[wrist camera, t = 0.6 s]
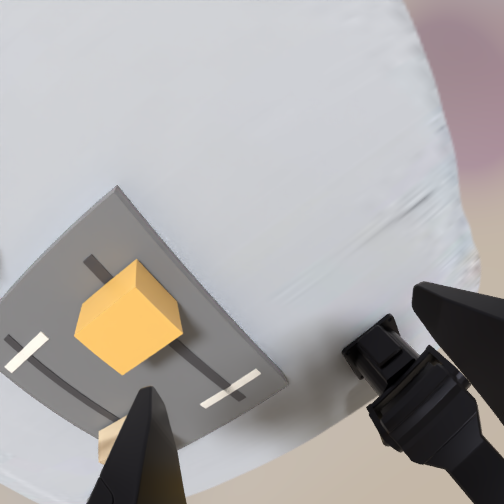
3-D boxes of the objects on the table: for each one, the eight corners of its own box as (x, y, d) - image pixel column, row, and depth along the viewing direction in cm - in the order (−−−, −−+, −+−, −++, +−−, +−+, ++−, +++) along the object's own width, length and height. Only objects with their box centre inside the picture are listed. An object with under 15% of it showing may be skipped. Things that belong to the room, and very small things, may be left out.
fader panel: (281, 370, 30) (289, 385, 28) (146, 450, 30) (148, 465, 28) (117, 185, 19) (113, 192, 17) (-24, 328, 19) (-32, 343, 17)
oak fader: (165, 429, 26) (170, 460, 23) (129, 448, 26) (132, 477, 23) (134, 410, 24) (136, 443, 21) (98, 431, 24) (98, 461, 21)
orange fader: (176, 301, 21) (183, 333, 18) (123, 340, 21) (122, 375, 18) (136, 258, 19) (135, 286, 16) (82, 303, 19) (74, 336, 16)
